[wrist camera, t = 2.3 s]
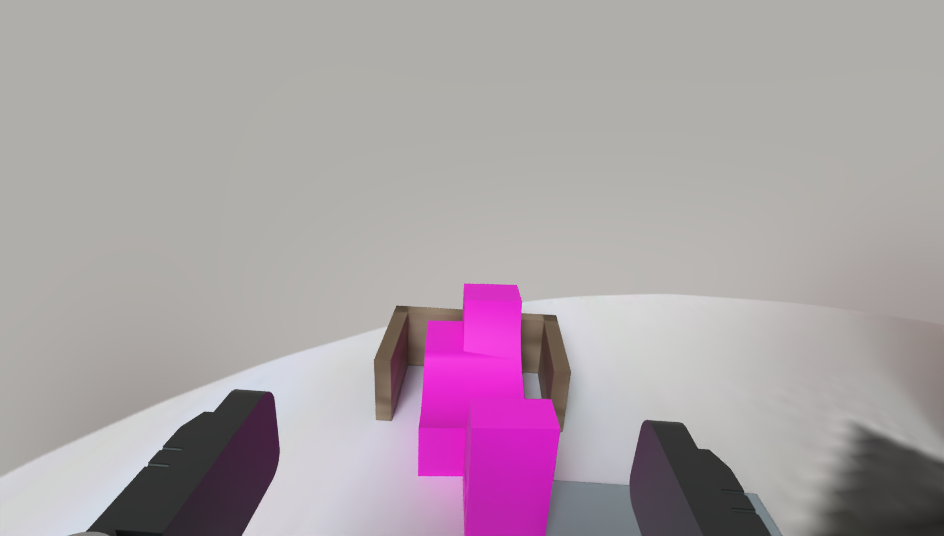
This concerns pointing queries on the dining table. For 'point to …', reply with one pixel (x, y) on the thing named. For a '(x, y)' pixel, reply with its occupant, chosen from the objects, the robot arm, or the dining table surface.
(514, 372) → the toy block
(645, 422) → the robot arm
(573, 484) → the slate mat
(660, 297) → the dining table surface
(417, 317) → the walnut bracket
